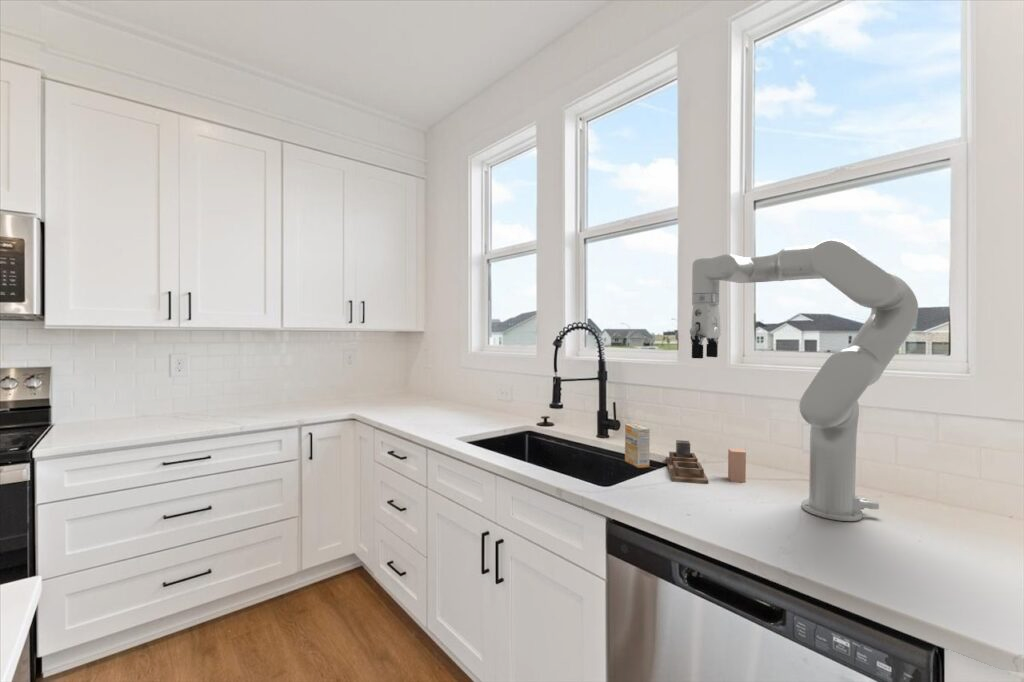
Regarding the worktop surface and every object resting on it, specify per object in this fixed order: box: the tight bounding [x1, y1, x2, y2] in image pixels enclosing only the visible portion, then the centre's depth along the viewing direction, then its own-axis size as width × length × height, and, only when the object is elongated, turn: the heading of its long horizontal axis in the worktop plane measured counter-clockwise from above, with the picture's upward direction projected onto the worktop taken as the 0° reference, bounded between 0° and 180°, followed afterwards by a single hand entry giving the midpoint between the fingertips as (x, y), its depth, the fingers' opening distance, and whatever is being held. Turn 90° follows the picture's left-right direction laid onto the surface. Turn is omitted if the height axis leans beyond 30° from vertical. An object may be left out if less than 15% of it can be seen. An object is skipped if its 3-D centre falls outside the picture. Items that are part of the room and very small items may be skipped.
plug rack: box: [665, 439, 709, 485], centre depth 151 cm, size 10×24×8 cm, turn 167°
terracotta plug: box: [727, 447, 747, 483], centre depth 142 cm, size 4×4×9 cm
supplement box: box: [624, 423, 651, 469], centre depth 158 cm, size 8×5×13 cm, turn 17°
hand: (704, 357), depth 140 cm, fingers open, 9 cm apart
